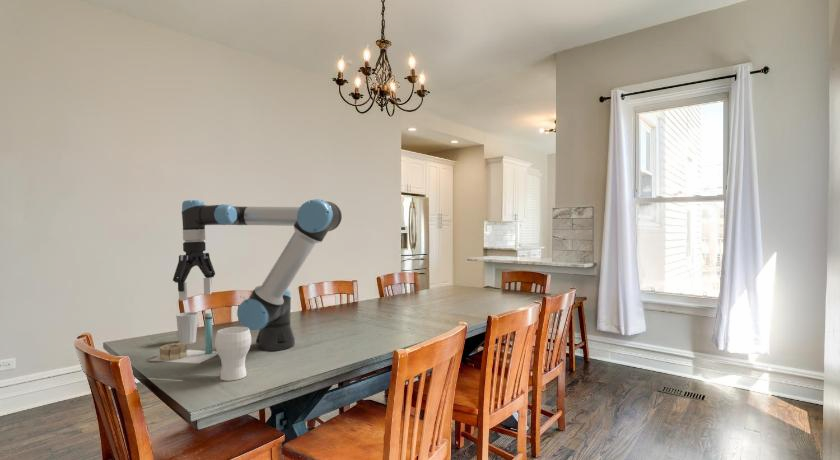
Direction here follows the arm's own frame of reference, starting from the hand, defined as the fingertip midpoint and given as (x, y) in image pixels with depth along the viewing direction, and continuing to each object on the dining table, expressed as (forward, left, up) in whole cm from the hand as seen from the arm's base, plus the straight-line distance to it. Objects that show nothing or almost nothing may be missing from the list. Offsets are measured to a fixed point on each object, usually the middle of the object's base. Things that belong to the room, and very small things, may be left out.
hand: (195, 297), depth 161 cm
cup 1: (+13, -13, -22) cm, 28 cm away
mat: (0, +4, -21) cm, 22 cm away
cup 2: (-29, +20, -22) cm, 41 cm away
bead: (+4, +6, -21) cm, 22 cm away
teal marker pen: (-6, 0, -21) cm, 22 cm away
